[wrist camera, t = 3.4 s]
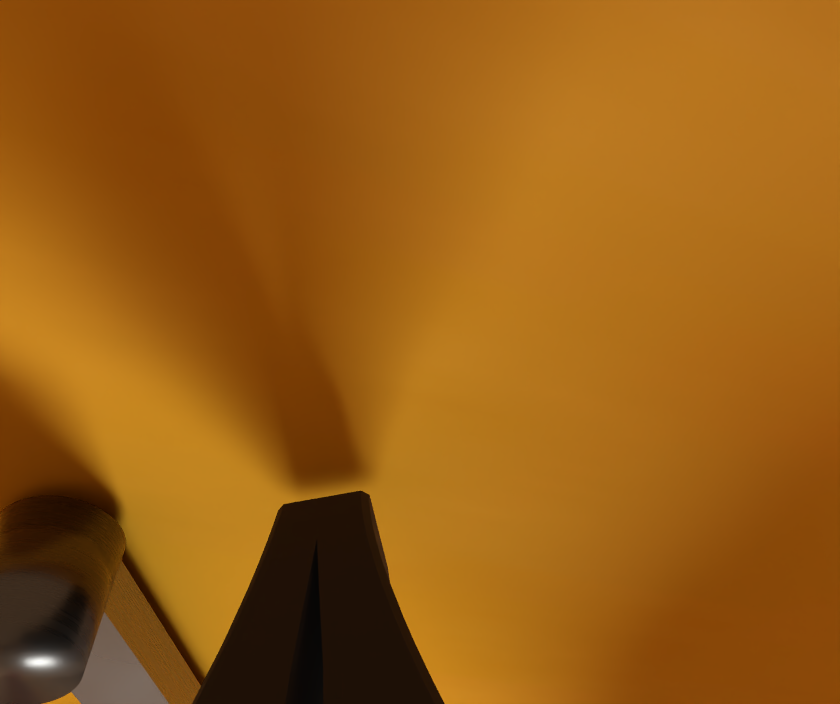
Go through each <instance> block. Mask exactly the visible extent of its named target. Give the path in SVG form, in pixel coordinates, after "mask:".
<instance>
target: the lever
mask: <svg viewBox="0 0 840 704" xmlns="http://www.w3.org/2000/svg"><path fill="white" fill-rule="evenodd" d="M125 547H126V539H125V535H124V532H123V530H122V528H121V527H120V525H119V524H118V523H117V522H116V521H115V520H114V518H112V517H111V516H110V515H109V514H108V513H106V512H105V511H103V510H101V509H100V508H98V507H96V506H94V505H92V504H89V503H87V502H84V501H81V500H77V499H73V498H68V497H61V496H38V497H31V498H27V499H23V500H20V501H17V502H15V503H13V504H11V505H9V506H8V507H6V508H5V509H4V510H3V511H2V512H0V704H41V703H46V702H50V701H53V700H56V699H58V698H61V697H63V696H65V695H66V694H68V693H70V692H72V693H73V694H74V695H75V697H76V698H77V699H78V700H79V701H80V702H81V704H192V703H193V701H194V699H195V697H196V695H197V693H198V691H199V689H200V687H201V685H200V684H199V682H198V681H197V679H196V678H195V676H194V674H193V673H192V671H191V670H190V668H189V666H188V665H187V663H186V662H185V660H184V659H183V657H182V655H181V654H180V652H179V651H178V649H177V647H176V646H175V644H174V643H173V641H172V639H171V638H170V636H169V635H168V633H167V632H166V630H165V628H164V627H163V625H162V624H161V622H160V620H159V619H158V617H157V616H156V614H155V612H154V611H153V609H152V608H151V606H150V605H149V603H148V601H147V600H146V598H145V597H144V595H143V593H142V592H141V590H140V589H139V587H138V586H137V584H136V582H135V581H134V579H133V578H132V576H131V574H130V573H129V571H128V570H127V568H126V566H125V565H124V563H123V562H122V557H123V554H124V551H125Z"/></svg>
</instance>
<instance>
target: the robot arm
mask: <svg viewBox="0 0 840 704" xmlns="http://www.w3.org/2000/svg"><path fill="white" fill-rule="evenodd" d="M192 704H444V702H443V700H442V698H441V696H440V694H439V692H438V690H437V688H436V686H435V684H434V682H433V680H432V678H431V676H430V674H429V672H428V670H427V668H426V666H425V664H424V661H423V659H422V657H421V655H420V653H419V651H418V649H417V647H416V644H415V642H414V640H413V638H412V636H411V633H410V631H409V629H408V626H407V624H406V622H405V620H404V617H403V615H402V612H401V610H400V607H399V605H398V602H397V600H396V597H395V595H394V592H393V589H392V587H391V584H390V580H389V573H388V567H387V563H386V559H385V555H384V551H383V547H382V543H381V539H380V535H379V531H378V527H377V523H376V519H375V515H374V511H373V507H372V503H371V499H370V495H369V494H367V493H365V492H363V491H356V492H351V493H345V494H339V495H334V496H328V497H322V498H317V499H311V500H305V501H300V502H294V503H288V504H283V506H282V507H281V508H280V509H279V510H278V513H277V516H276V519H275V521H274V524H273V527H272V530H271V533H270V535H269V538H268V541H267V543H266V546H265V548H264V551H263V554H262V556H261V559H260V561H259V564H258V566H257V568H256V571H255V573H254V575H253V578H252V580H251V583H250V585H249V587H248V590H247V592H246V594H245V596H244V599H243V601H242V603H241V605H240V607H239V609H238V612H237V614H236V616H235V618H234V620H233V623H232V625H231V627H230V629H229V631H228V634H227V636H226V638H225V640H224V642H223V644H222V646H221V648H220V650H219V652H218V654H217V656H216V658H215V660H214V662H213V664H212V666H211V668H210V670H209V672H208V674H207V676H206V677H205V679H204V681H203V683H202V685H201V687H200V689H199V691H198V693H197V695H196V697H195V699H194V701H193V703H192Z"/></svg>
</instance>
